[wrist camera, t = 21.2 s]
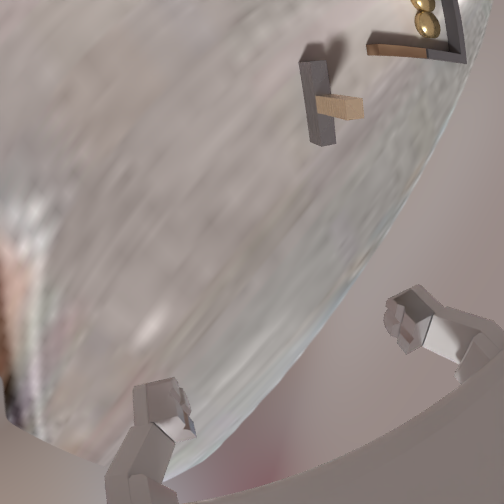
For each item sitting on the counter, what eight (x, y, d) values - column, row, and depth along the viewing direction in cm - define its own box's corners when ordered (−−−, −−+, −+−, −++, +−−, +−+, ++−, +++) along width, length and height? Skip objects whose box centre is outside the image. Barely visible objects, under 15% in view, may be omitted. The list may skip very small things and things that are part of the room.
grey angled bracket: (400, -31, 24) (411, -34, 22) (442, -17, 25) (453, -19, 23) (417, 57, 32) (429, 58, 30) (455, 62, 33) (466, 64, 31)
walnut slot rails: (347, -43, 22) (358, -48, 20) (397, -32, 24) (409, -35, 22) (367, 55, 31) (379, 55, 29) (414, 57, 32) (426, 58, 30)
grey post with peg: (298, 62, 30) (339, 59, 22) (313, 61, 30) (357, 58, 23) (309, 141, 35) (350, 159, 28) (323, 138, 35) (366, 156, 28)
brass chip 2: (409, 13, 28) (417, 13, 27) (427, 10, 28) (434, 10, 27) (419, 40, 31) (427, 40, 29) (436, 36, 31) (443, 36, 29)
